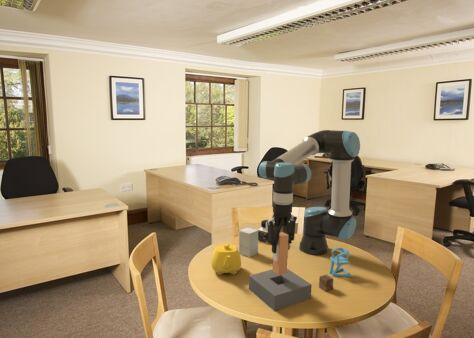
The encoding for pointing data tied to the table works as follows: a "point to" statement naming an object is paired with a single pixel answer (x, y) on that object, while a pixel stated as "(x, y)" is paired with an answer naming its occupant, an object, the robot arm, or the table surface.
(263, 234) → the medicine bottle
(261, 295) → the hole block
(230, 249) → the teapot
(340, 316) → the table surface
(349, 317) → the table surface
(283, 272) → the tall pin
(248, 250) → the supplement box
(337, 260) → the blue tall openwork piece
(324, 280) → the short pin
